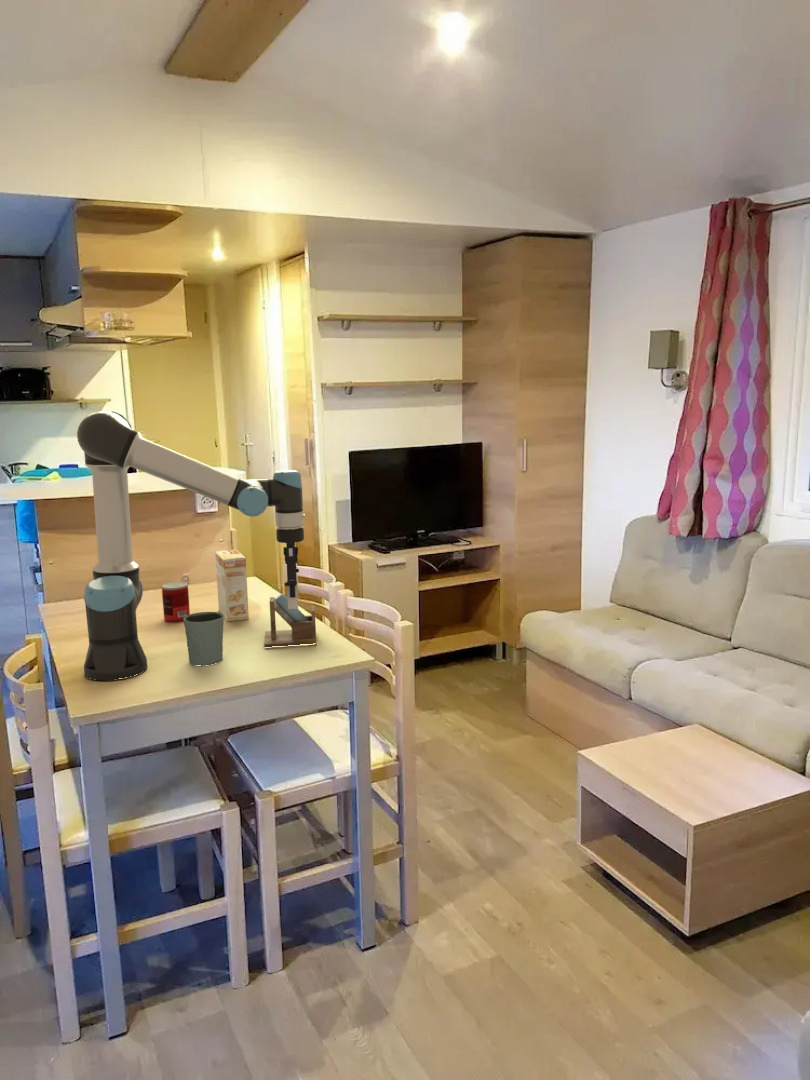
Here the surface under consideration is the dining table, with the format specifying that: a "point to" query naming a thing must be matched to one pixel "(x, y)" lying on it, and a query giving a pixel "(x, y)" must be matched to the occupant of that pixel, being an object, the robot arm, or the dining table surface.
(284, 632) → the socket cradle
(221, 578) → the coffeecake box
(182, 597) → the canned food
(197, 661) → the grey-green cup
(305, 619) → the peg
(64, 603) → the dining table surface
